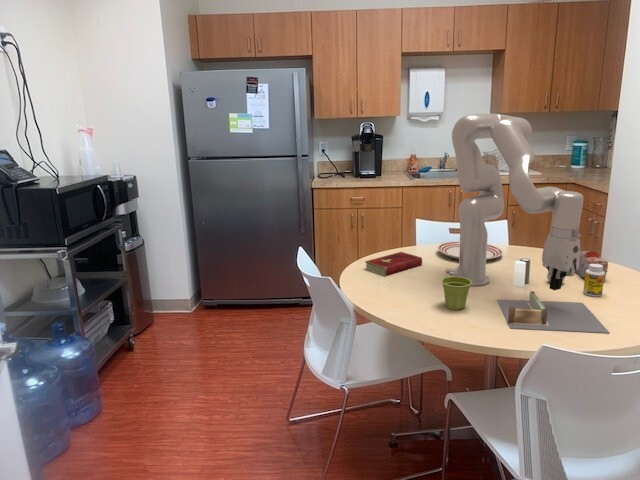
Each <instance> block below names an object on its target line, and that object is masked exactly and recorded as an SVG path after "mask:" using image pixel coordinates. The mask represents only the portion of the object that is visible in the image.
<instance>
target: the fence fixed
mask: <svg viewBox="0 0 640 480" xmlns="http://www.w3.org/2000/svg"><path fill="white" fill-rule="evenodd" d="M547 311H548V309H546V308H544V309H543V315H542V324H546V321H547ZM540 320H541V310H533V309H516V308H515V307H509V315H508V322H509V323H526V324H540Z"/></svg>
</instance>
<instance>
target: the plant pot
mask: <svg viewBox="0 0 640 480" xmlns="http://www.w3.org/2000/svg"><path fill="white" fill-rule="evenodd" d="M454 276H455V275H452V276H446V277H443V278H442V279H440V282H441V284H442V287H443V293H444V295H443V296H444V301H445V302H444V303H445V306H446V307H447V308H448V309H450V310H454V311H455V310H464V309H465V308H466V304H467V301H468V300H467V299H468V294H469V291H470V288H471V286H470V285H471V284H472V281H471V280H469V279H467V278H464V277H454Z"/></svg>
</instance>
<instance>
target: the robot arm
mask: <svg viewBox="0 0 640 480" xmlns="http://www.w3.org/2000/svg"><path fill="white" fill-rule="evenodd" d="M532 133H533V129H532V125H531V124H530V122H529V120H527V119H525V118H522V117H519V116H513V115H512V116H510V115H507V114H498V113H471V114H466V115H464V116H462V117H460V118H459V119H458V120H456V123H455V124H454V126H453V128H452V133H451V141H452V145H453V146H452V147H453V149H454V153H455V162H456V170H457V177H458V183H459V188H460V189H461V190H462V192H464V193H470V194H471V193H478V192H479V194H478V195H473V196H468V197H467V198H464V199H463V200H462V201H461V202H460V203H459V205H458V209H457V211H458V219H459V226H460V227H459V230H460V231H459V241H460V253H459V260H458V265H457V267H456V268H455V267H454V269H452V268H446V269H445V275H449V276H454V277H464V278H467V279H469V280H471V281H472V284H471V285H470V287H473V286H475V287H478V286H484V285H488V284H489V283H490V277H489V276H488V275H486V273H487V272H486V270H487V269H486V268H487V260H486V256H487V244H488V230H487V228H486V224H485V222H487V221H492V220H495V219H498V218H500V217H501V215H502V214H503V212H504V209H505V200H504V191H503V185H502V183H503V182H502V177H501V173H500V172H499V170H498V168H497V167H496V166H495V165H492V164H490V163H489V164H488V163H484V164H483V161H482V154H481V150H480V148H479V146H478V145H477V144H476V140H480V139H481V140H482V139H492V141H493V142H494V144H495V146H496V148H497V149H498V151H499V153H500V154H501V156H502V158H503V159H504V161H505V163H506V165H507V166H508V169H509V170H508V184H509V190H510V191H511V193H512V196H513V197H514V198H515V201H516V202H517V204H518V205H519V207H520V208H521V209H522V210H523V211H524V212H526V213H527V214H531V215H535V214H540V213H545V212H552V215H551V217H552V218H551V223H550V230H549V233H548V235H547V237H546V239H545V242H544V246H543V250H542V256H541V261H542V266H543V267H544V268H545V269H546V270H547V272H548V271H549V275H550V276H551V279H550V283H549V288H548V289H550V290H552V291H558V290H561V288H562V284H563V283H562V280H563V278H565V279H566V277H574V276H575V273H576V272H575V271H574V270H578V268H579V261H580V251H581V242H580V241H581V240H580V239H579V238H581V237H582V233H580V232H579V231H580V230H579V229H580V224H581V217H582V212H583V205H584V195H583V194H582V193H580V192H579V191H571V190H565V189H562V188H558V187H556V186H544V187H543V186H542V187H536V186H535V185H534V183H533V181H532V178H531V177H530V175H529V166H530V164H531V163H533V161H534V160H535V158H536V154H535V151H534V150H533V149H532V147H531V144H529V142H528V141H529V140H530V139H531V136H532Z"/></svg>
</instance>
